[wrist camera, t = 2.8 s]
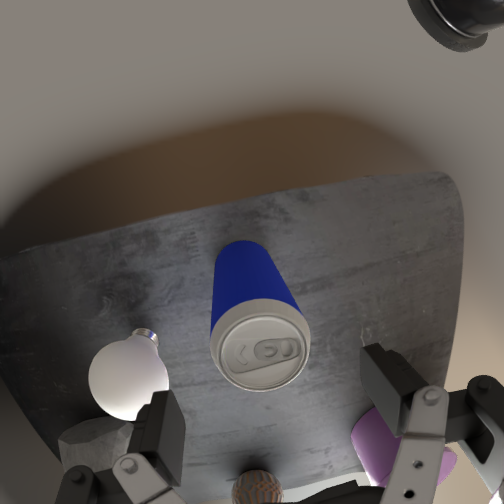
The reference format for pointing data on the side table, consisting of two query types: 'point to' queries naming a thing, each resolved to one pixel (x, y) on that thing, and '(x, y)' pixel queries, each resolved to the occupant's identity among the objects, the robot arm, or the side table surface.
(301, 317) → the beverage can
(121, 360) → the light bulb
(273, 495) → the vase
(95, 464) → the potted plant
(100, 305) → the side table surface
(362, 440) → the jar
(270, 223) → the side table surface
